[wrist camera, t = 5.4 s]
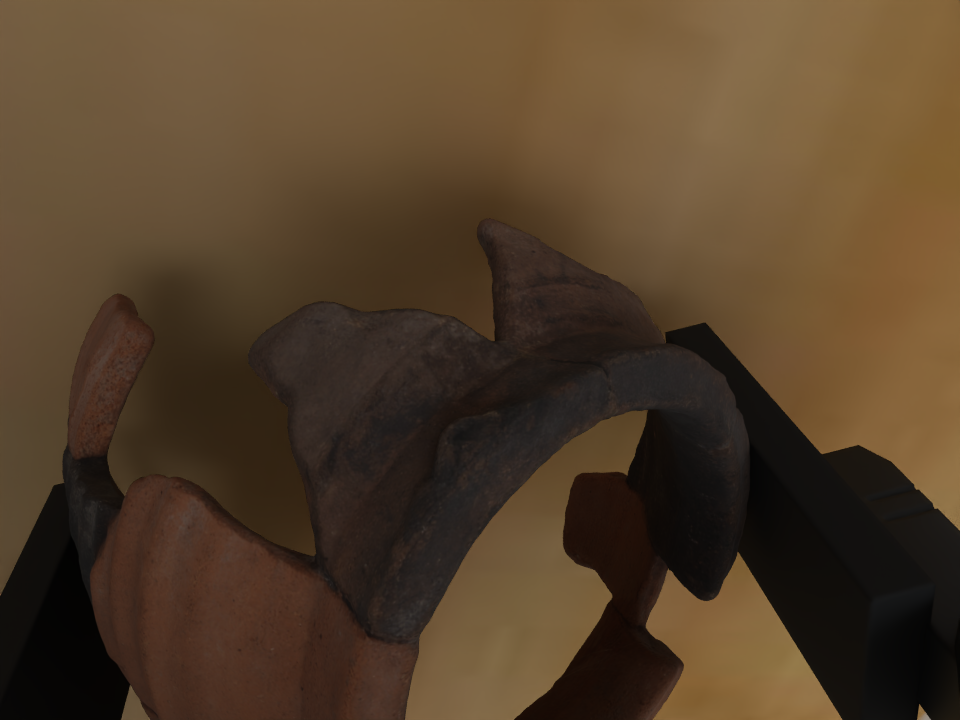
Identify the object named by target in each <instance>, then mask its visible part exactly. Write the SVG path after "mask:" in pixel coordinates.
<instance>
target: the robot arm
mask: <svg viewBox="0 0 960 720" xmlns="http://www.w3.org/2000/svg"><path fill="white" fill-rule="evenodd" d="M665 334H666V343H669V344H675V345H678V346H680V347H683V348H685V349H688V350H691V351H692V352H694V353H696V354H698V355H699V356H700V357H701V358H702V359H704V360H705V361H707V362H708V363H709V364H710V365H711V366H712V367H713V368H714V369H716V370H718V371H719V372H720V373H722V374H723V375H725V377H726V381H727V383H728V385H729V388H730V389H731V391H732V392H733V394H734V396H735V400H736V408H737V409H739V411H740V412H741V414H742V415H743V420H744V424H745V427H746V431H747V434H748V438H749V443H750V491H749V498H748V502H747V515H746V520H745V523H744V528H743V535H742V537H741V539H740V542H739V547H738V552H739V553H740V555H741V557H742V558H743V560H744V561H745V563H746V565H747V566H748V568H749V570H750V571H751V573H752V574H753V576H754V578H755V579H756V581H757V582H758V584H759V586H760V587H761V589H762V590H763V592H764V594H765V595H766V597H767V599H768V600H769V602H770V603H771V605H772V607H773V608H774V610H775V611H776V613H777V615H778V616H779V618H780V620H781V621H782V623H783V624H784V626H785V628H786V629H787V631H788V632H789V634H790V636H791V637H792V639H793V640H794V642H795V644H796V645H797V647H798V649H799V650H800V652H801V653H802V655H803V657H804V658H805V660H806V661H807V663H808V665H809V666H810V668H811V670H812V671H813V673H814V674H815V676H816V678H817V679H818V681H819V682H820V684H821V686H822V687H823V689H824V690H825V692H826V694H827V695H828V697H829V699H830V700H831V702H832V703H833V705H834V707H835V708H836V710H837V711H838V713H839V715H840V716H841V718H842V720H917V716H918V709H919V704H920V705H921V707H922V708H923V709H924V711H925V712H926V713H927V715H928V716H929V718H930V719H931V720H960V531H959V530H958V529H957V528H956V527H955V526H954V525H953V524H952V523H951V522H950V521H949V520H948V519H947V518H946V517H945V516H944V515H943V513H942V512H941V511H940V510H939V509H934V507H933V503H932V502H931V501H930V500H929V499H928V498H927V497H926V496H925V495H924V494H923V493H922V492H921V491H920V490H919V489H918V490H916V489H915V487H914V484H913V483H912V482H911V481H910V480H909V479H908V478H907V477H906V476H905V475H904V474H903V473H902V472H901V471H900V470H899V469H898V468H897V467H896V466H895V465H894V464H893V463H892V462H891V461H889V460H887V459H885V458H883V457H881V456H879V455H877V454H875V453H873V452H871V451H869V450H867V449H865V448H863V447H861V446H859V445H857V446H853V447H849V448H845V449H841V450H837V451H834V452H830V453H826V454H821V453H820V452H819V451H818V450H817V449H816V448H815V447H814V445H813V444H812V443H811V442H810V441H809V440H808V439H807V437H806V436H805V435H804V434H803V433H802V432H801V431H800V429H799V428H798V427H797V426H796V425H795V424H794V423H793V422H792V420H791V419H790V418H789V417H788V416H787V415H786V414H785V412H784V411H783V410H782V409H781V408H780V407H779V406H778V404H777V403H776V402H775V401H774V400H773V399H772V398H771V397H770V395H769V394H768V393H767V392H766V391H765V390H764V389H763V387H762V386H761V385H760V384H759V383H758V382H757V381H756V379H755V378H754V377H753V376H752V375H751V374H750V373H749V372H748V370H747V369H746V368H745V367H744V366H743V365H742V364H741V362H740V361H739V360H738V359H737V358H736V357H735V356H734V354H733V353H732V352H731V351H730V350H729V349H728V348H727V347H726V345H725V344H724V343H723V342H722V341H721V340H720V339H719V337H718V336H717V335H716V334H715V333H714V332H713V331H712V330H711V328H710V327H709V326H708V325H707V324H706V323H701V324H697V325H693V326H689V327H685V328H681V329H677V330H673V331H669V332H665ZM129 687H130V683H129V682H128V680H127V679H126V677H125V676H124V674H123V673H122V671H121V669H120V668H119V666H118V664H117V663H116V662H115V661H113V660H112V659H111V658H110V656H109V655H108V653H107V651H106V648H105V645H104V642H103V640H102V638H101V635H100V633H99V629H98V626H97V623H96V619H95V615H94V610H93V606H92V604H91V601H90V598H89V595H88V593H87V590H86V588H85V585H84V582H83V580H82V574H81V569H80V565H79V555H78V551H77V548H76V545H75V542H74V540H73V538H72V536H71V532H70V525H69V507H68V501H67V497H66V488H65V484H64V483H62V484H58V485H54V486H53V489H52V491H51V493H50V495H49V497H48V499H47V501H46V503H45V505H44V507H43V509H42V511H41V513H40V515H39V517H38V519H37V522H36V524H35V526H34V528H33V530H32V532H31V534H30V536H29V538H28V540H27V542H26V544H25V546H24V548H23V550H22V553H21V555H20V557H19V559H18V561H17V563H16V565H15V567H14V569H13V571H12V573H11V575H10V577H9V579H8V581H7V583H6V586H5V588H4V590H3V592H2V594H1V596H0V720H121V718H122V714H123V710H124V706H125V702H126V699H127V695H128V691H129Z"/></svg>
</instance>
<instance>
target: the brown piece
mask: <svg viewBox="0 0 960 720" xmlns="http://www.w3.org/2000/svg"><path fill="white" fill-rule="evenodd" d="M477 237H478V240H479V243H480V245H481V246H482V248H483V250H484V252H485V254H486V256H487V258H488V264H489V266H490V268H491V271H492V278H493V283H492V294H493V319H494V323H495V331H494V335H495V341H490V340H488V339H487V338H485V337H484V336H482V335H480V334H479V333H477V332H476V331H474V330H473V329H472V328H470V327H469V326H467V325H466V324H464V323H463V322H461V321H460V320H458V319H457V318H455V317H452V316H448V315H440V314H435V313H431V312H428V311H425V310H420V309H391V310H382V311H372V312H362V311H358V310H355V309H353V308H350V307H347V306H344V305H341V304H338V303H335V302H316V303H312V304H309V305H306V306H304V307H302V308H300V309H299V310H298V311H296V312H294V313H292V314H291V315H289V316H288V317H286V318H285V319H283V320H282V321H280V322H279V323H277V324H276V325H274V326H272V327H271V328H269V329H268V330H266V331H265V332H263V333H262V334H261V335H260V336H259V337H258V339H257V340H256V341H255V342H254V344H253V345H252V347H251V348H250V350H249V353H248V362H249V364H250V366H251V367H252V369H253V370H254V371H255V373H256V374H257V375H258V376H259V377H260V378H261V379H262V380H263V381H264V382H265V384H266V385H267V386H268V387H269V388H270V390H271V392H272V393H273V395H274V396H275V397H276V398H278V399H279V400H280V401H281V402H282V403H283V404H285V405H286V406H287V407H288V434H289V440H290V446H291V450H292V454H293V457H294V459H295V462H296V464H297V467H298V469H299V472H300V475H301V477H302V480H303V483H304V486H305V492H306V497H307V503H308V506H309V513H310V520H311V524H312V528H313V532H314V537H315V547H316V554H315V556H310V555H306V554H303V553H300V552H297V551H294V550H291V549H288V548H285V547H282V546H279V545H277V544H274V543H272V542H270V541H268V540H267V539H265V538H264V537H262V536H261V535H259V534H257V533H255V532H253V531H252V530H250V529H249V528H247V527H246V526H245V525H243V524H242V523H240V522H239V521H238V520H237V519H236V518H234V517H233V516H232V515H231V514H230V513H228V512H227V511H226V510H225V509H224V508H223V507H222V506H221V505H220V504H219V503H218V502H217V501H216V500H215V499H214V498H213V497H212V496H211V495H210V494H209V493H208V492H207V491H205V490H204V489H203V488H201V487H200V486H198V485H196V484H195V483H193V482H191V481H188V480H186V479H183V478H180V477H171V478H168V477H166V476H163V475H149V476H146V477H141V478H139V479H137V480H136V481H134V482H133V483H132V484H131V485H130V487H129V489H128V491H127V493H126V495H125V496H124V495H123V493H122V492H121V491H120V489H119V488H118V486H117V485H116V483H115V482H114V480H113V478H112V476H111V474H110V471H109V466H108V461H107V453H108V449H109V445H110V442H111V439H112V436H113V433H114V431H115V428H116V425H117V421H118V419H119V416H120V413H121V411H122V409H123V406H124V404H125V402H126V399H127V396H128V394H129V392H130V390H131V388H132V386H133V384H134V382H135V380H136V378H137V375H138V373H139V371H140V370H141V368H142V366H143V364H144V362H145V360H146V358H147V356H148V354H149V353H150V351H151V349H152V346H153V344H154V341H155V338H154V332H153V330H152V329H151V327H150V326H148V325H147V324H146V323H145V322H144V321H143V320H142V319H140V318H139V317H138V313H137V310H136V307H135V305H134V303H133V301H132V300H131V299H130V298H128V297H126V296H124V295H122V294H116V295H113V296H112V297H110V298H109V299H108V300H106V301H105V302H104V304H103V305H102V306H101V308H100V310H99V312H98V314H97V316H96V317H95V319H94V321H93V322H92V324H91V326H90V328H89V330H88V332H87V334H86V336H85V339H84V342H83V344H82V346H81V349H80V353H79V356H78V359H77V362H76V366H75V370H74V374H73V379H72V386H71V393H70V402H69V418H68V443H67V446H66V449H65V451H64V454H63V479H64V484H65V488H66V497H67V501H68V507H69V525H70V532H71V536H72V538H73V540H74V542H75V545H76V548H77V551H78V555H79V565H80V569H81V574H82V580H83V582H84V585H85V588H86V590H87V593H88V595H89V598H90V601H91V604H92V606H93V610H94V615H95V619H96V623H97V626H98V629H99V633H100V635H101V638H102V640H103V642H104V645H105V648H106V651H107V653H108V655H109V656H110V658H111V659H112V660H113V661H115V662H116V663H117V664H118V666H119V668H120V669H121V671H122V673H123V674H124V676H125V677H126V679H127V680H128V682H129V683H130V685H131V686H132V688H133V690H134V691H135V693H136V695H137V696H138V697H139V698H140V701H141V704H142V706H143V708H144V710H145V712H146V714H147V715H148V717H149V718H150V719H151V720H405V714H406V706H407V699H408V695H409V690H410V684H411V679H412V674H413V670H414V667H415V664H416V661H417V658H418V653H419V637H420V634H421V632H422V631H423V629H424V628H425V626H426V625H427V624H428V622H429V621H430V619H431V617H432V615H433V613H434V611H435V609H436V607H437V606H438V604H439V602H440V601H441V599H442V597H443V596H444V594H445V592H446V590H447V588H448V586H449V584H450V582H451V580H452V579H453V577H454V575H455V574H456V572H457V570H458V568H459V566H460V564H461V562H462V561H463V559H464V557H465V556H466V554H467V552H468V551H469V549H470V548H471V546H472V544H473V543H474V541H475V540H476V539H477V537H478V536H479V535H480V534H481V532H482V531H483V530H484V528H485V527H486V525H487V524H488V523H489V521H490V520H491V519H492V517H493V516H494V515H495V514H496V513H497V512H498V511H499V510H500V509H501V507H502V506H503V505H504V504H505V502H506V501H507V500H508V499H509V498H510V497H511V496H512V495H513V494H514V493H515V492H516V491H517V490H518V489H519V488H520V487H521V486H522V485H523V484H524V483H525V482H526V481H527V480H528V479H529V478H530V476H531V475H532V474H533V473H534V472H535V471H536V470H537V469H538V468H539V467H540V466H541V465H542V464H543V463H545V462H546V461H547V460H548V459H549V458H550V457H551V456H552V455H553V454H554V453H556V452H557V451H558V450H560V449H561V448H562V447H563V446H564V444H566V443H568V442H569V441H570V440H571V439H573V438H574V437H576V436H578V435H580V434H582V433H584V432H585V431H587V430H589V429H590V428H592V427H594V426H595V425H596V424H597V423H598V422H599V421H601V420H605V419H609V418H611V417H613V416H618V415H622V414H624V413H626V412H629V411H633V410H636V411H642V410H648V412H647V420H646V424H645V427H644V430H643V433H642V436H641V438H640V441H639V444H638V446H637V449H636V453H635V457H634V459H633V461H632V463H631V465H630V467H629V471H628V476H627V475H625V474H624V473H621V472H607V473H598V472H596V473H581V474H579V475H577V476H576V477H575V479H574V482H573V485H572V487H571V490H570V496H569V500H568V505H567V507H566V512H565V525H564V530H563V546H564V550H565V552H566V554H567V555H568V556H569V557H570V558H571V559H572V560H573V561H574V562H575V563H576V564H579V565H581V566H584V567H587V568H591V569H593V570H595V571H596V572H597V573H598V575H599V576H600V578H601V579H602V581H603V582H604V583H605V584H606V586H607V588H608V589H609V591H610V592H611V593H612V596H613V597H612V599H611V601H610V602H609V603H608V604H607V606H606V608H605V610H604V612H603V614H602V617H601V619H600V620H599V622H598V624H597V625H596V626H595V628H594V629H593V631H592V632H591V634H590V635H589V637H588V638H587V640H586V641H585V642H584V644H583V645H582V647H581V648H580V650H579V651H578V652H577V654H576V655H575V657H574V658H573V660H572V661H571V663H570V665H569V666H568V668H567V669H566V671H565V673H564V674H563V675H562V676H561V677H560V678H559V679H558V680H557V681H556V682H555V683H554V685H553V687H552V688H551V689H550V690H549V691H548V692H547V693H546V694H544V695H543V696H542V697H540V698H539V699H537V700H536V701H535V702H534V703H532V704H531V705H530V706H529V707H527V708H526V709H525V710H524V711H523V712H522V713H521V714H520V715H519V716H517V717H516V718H515V719H514V720H652V719H653V718H654V717H655V715H656V714H657V712H658V711H659V710H660V709H661V707H662V705H663V704H664V702H665V701H666V700H667V699H668V697H669V695H670V693H671V692H672V690H673V688H674V687H675V685H676V683H677V681H678V680H679V678H680V676H681V674H682V671H683V668H684V664H683V662H682V661H681V660H680V659H679V658H678V657H677V656H676V655H675V654H674V653H673V652H672V651H671V650H670V649H669V648H668V647H667V646H666V645H665V644H664V643H663V642H661V641H660V640H658V639H655V638H654V637H653V636H652V635H651V634H650V633H649V632H648V630H647V629H646V622H647V619H648V617H649V614H650V612H651V610H652V608H653V607H654V605H655V604H656V601H657V599H658V596H659V594H660V592H661V589H662V586H663V583H664V580H665V576H666V573H667V570H668V568H669V570H671V571H672V572H673V573H674V575H675V576H676V577H677V579H678V580H679V581H680V582H681V583H682V585H683V586H684V587H686V588H687V589H688V590H689V591H690V592H691V593H692V594H693V595H694V596H696V597H697V598H698V599H700V600H704V601H709V600H712V599H714V598H715V597H716V596H717V595H718V594H719V591H720V589H721V586H722V584H723V581H724V579H725V578H726V576H727V574H728V573H729V571H730V569H731V568H732V565H733V563H734V561H735V559H736V556H737V553H738V547H739V542H740V539H741V537H742V535H743V528H744V523H745V520H746V515H747V502H748V498H749V491H750V443H749V438H748V434H747V431H746V427H745V424H744V420H743V415H742V414H741V412H740V411H739V409H737V408H736V400H735V396H734V394H733V392H732V391H731V389H730V388H729V385H728V383H727V381H726V377H725V375H723V374H722V373H720V372H719V371H718V370H716V369H714V368H713V367H712V366H711V365H710V364H709V363H708V362H707V361H705V360H704V359H702V358H701V357H700V356H699V355H698V354H696V353H694V352H692V351H691V350H688V349H685V348H683V347H680V346H678V345H675V344H669V343H665V341H664V339H663V337H662V334H661V332H660V330H659V329H658V328H657V327H656V325H655V324H654V323H653V321H652V319H651V318H650V316H649V315H648V313H647V311H646V309H645V308H644V306H643V304H642V302H641V300H640V299H639V297H638V296H637V295H636V294H634V293H633V292H632V291H630V290H629V289H628V288H627V287H626V286H624V285H623V284H621V283H620V282H617V281H614V280H612V279H610V278H609V277H608V276H606V275H603V274H599V273H596V272H594V271H593V270H591V269H589V268H587V267H585V266H583V265H582V264H580V263H578V262H576V261H574V260H573V259H571V258H569V257H567V256H565V255H564V254H562V253H560V252H558V251H555V250H554V249H552V248H550V247H549V246H547V245H545V244H544V243H543V242H541V241H540V240H539V239H538V238H536V237H534V236H532V235H530V234H527V233H525V232H523V231H521V230H518V229H516V228H513V227H511V226H509V225H506V224H504V223H501V222H499V221H496V220H494V219H491V218H489V219H484V220H482V221H481V222H480V224H479V225H478V228H477Z"/></svg>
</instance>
